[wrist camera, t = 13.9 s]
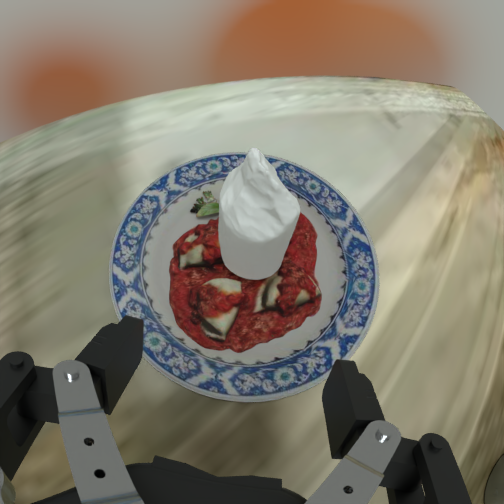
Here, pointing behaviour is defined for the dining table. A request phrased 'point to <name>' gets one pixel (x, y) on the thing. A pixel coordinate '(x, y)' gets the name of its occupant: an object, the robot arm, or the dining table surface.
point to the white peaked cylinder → (255, 218)
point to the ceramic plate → (243, 286)
